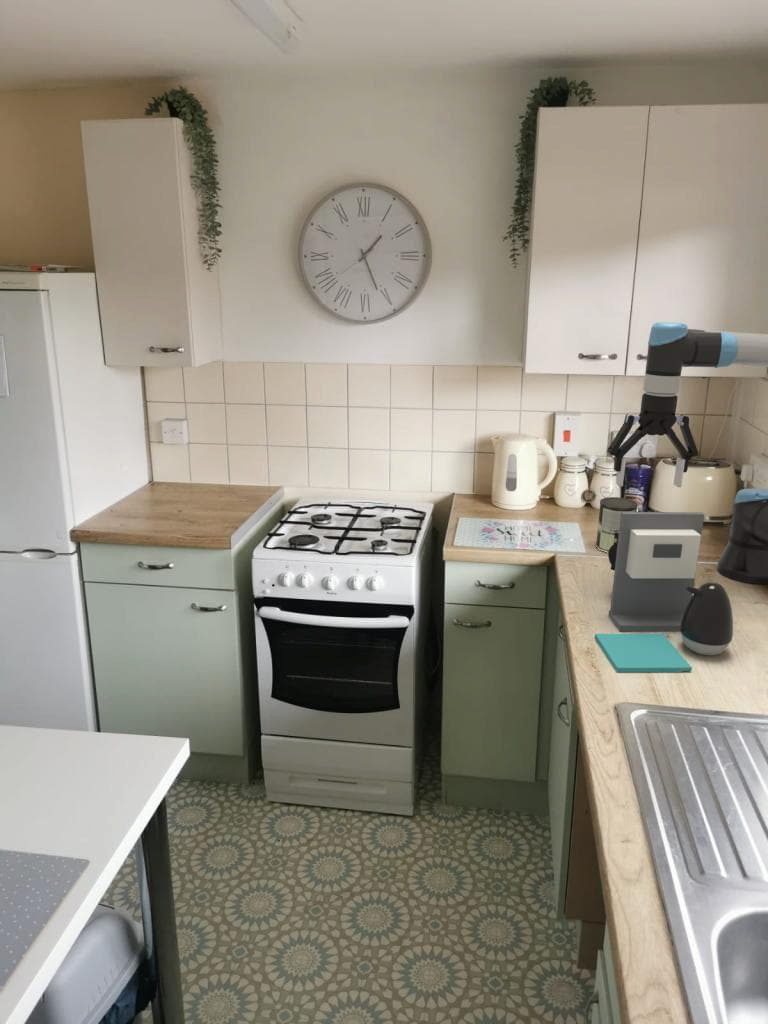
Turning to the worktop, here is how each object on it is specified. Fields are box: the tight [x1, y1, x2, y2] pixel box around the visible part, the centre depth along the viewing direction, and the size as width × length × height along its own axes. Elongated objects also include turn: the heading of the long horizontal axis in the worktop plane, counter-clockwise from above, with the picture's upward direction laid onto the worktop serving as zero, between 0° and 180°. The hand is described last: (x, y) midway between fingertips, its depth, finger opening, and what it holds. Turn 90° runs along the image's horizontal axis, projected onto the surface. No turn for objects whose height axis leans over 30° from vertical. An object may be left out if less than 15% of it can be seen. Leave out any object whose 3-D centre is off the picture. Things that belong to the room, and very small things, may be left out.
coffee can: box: [595, 496, 639, 552], centre depth 218 cm, size 10×10×14 cm
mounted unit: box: [607, 511, 705, 633], centre depth 169 cm, size 18×8×26 cm, turn 92°
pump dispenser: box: [680, 581, 734, 656], centre depth 159 cm, size 10×10×15 cm
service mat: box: [594, 633, 693, 673], centre depth 159 cm, size 15×15×1 cm
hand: (648, 485), depth 177 cm, fingers open, 13 cm apart
